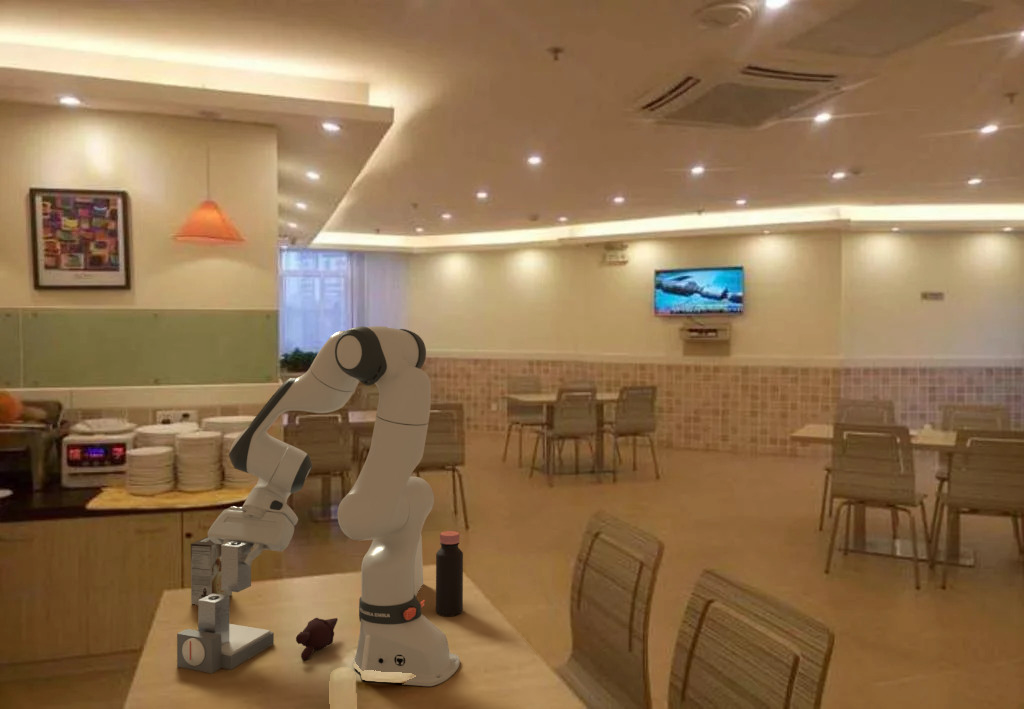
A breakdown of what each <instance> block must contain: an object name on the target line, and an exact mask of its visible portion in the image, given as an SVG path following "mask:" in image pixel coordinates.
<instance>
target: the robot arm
mask: <svg viewBox="0 0 1024 709" xmlns="http://www.w3.org/2000/svg"><path fill="white" fill-rule="evenodd" d="M420 336H421V335H419V334H417V333H416V332H413V331H411V330H408V329H405V328H399V329H398V328H393V327H388V326H383V325H381V326H379V325H377V326H375V325H374V326H364V325H363V326H355V327H351V328H349V329H347V330H339V331H336V332H334V333H333V334H332V335H331V336H330V337H329V338H328V340H326V342H325V343H324V344H323V346H322V347H321V348H320V350H319V351H318V353H317V355H316V356H315V357H314V359H313V361H312V363H311V364H310V367H309V368H308V369H307V371H305V373H304V374H302V375H301V376H298V377H290V378H288V379H287V380H285V381H284V382H283V383H282V384H281V386H280V387H279V388H278V389H277V390H276V391H275V392H274V393H273V394H272V396H271V397H270V398H269V400H267V402H266V403H265V405H263V407H262V408H261V410H260V411H259V412H258V414H256V415H255V417H254V418H253V419H252V422H250V424H249V425H248V426H247V427H246V428H244V430H243V431H242V432H241V433H239V434H238V436H237V437H235V439H234V441H233V442H232V444H231V446H230V449H229V452H228V457H229V460H230V463H231V464H232V466H233V468H234V469H236V470H239V471H240V472H244V473H247V474H250V475H253V476H254V477H257V478H258V480H257V483H256V485H255V486H253V488H252V489H251V490H250V491H249V494H248V495H247V497H246V499H245V501H244V503H243V505H242V506H234V505H233V506H230V507H228V508H226V509H224V510H222V511H221V513H220V514H219V515H218V516H217V518H216V519H215V520H214V521H213V523H212V524H211V525H210V528H209V529H208V530H207V537H209V539H210V540H211V541H212V542H213V543H215V544H222V545H223V544H226V543H229V542H231V541H242V542H250V543H251V552H250V553H249V554H248V555H244V556H243V559H242V560H241V562H242V563H243V565H249V566H250V565H251V566H252V563H253V561H254V559H256V558H257V557H258V556H260V555H261V554H262V553H263V551H264V550H267V551H275V552H283V551H284V550H286V549H287V548H288V546H289V545H290V543H291V540H292V538H293V535H294V533H295V526H296V525H297V524H298V522H299V518H298V516H297V515H296V513H295V512H294V510H293V509H292V508H291V507H290V506H289V505H288V504H287V503H288V498H290V496H291V494H295V493H297V492H299V491H301V490H302V489H303V488H304V484H305V481H306V479H307V477H308V476H309V475H310V473H311V472H312V469H313V463H312V460H311V457H310V455H309V454H308V453H307V452H305V451H304V450H302V449H300V448H298V447H296V446H294V445H291V444H289V443H287V442H284V441H282V440H280V439H278V438H276V437H274V436H272V435H270V434H269V433H268V431H269V429H270V428H271V426H273V424H274V423H275V422H276V421H277V419H278V418H279V417H280V415H281V414H283V413H286V412H290V411H292V412H293V411H296V412H297V411H299V412H300V411H301V412H308V413H315V414H327V413H328V414H329V413H333V412H336V411H338V410H340V409H342V408H343V407H345V406H346V404H347V403H348V402H349V400H350V399H351V397H352V396H353V394H354V392H355V390H356V389H357V388H358V385H359V383H362V384H363V385H364V386H365V387H366V386H367V387H368V386H372V385H375V386H376V388H377V389H378V390H377V391H378V402H377V409H376V415H375V420H374V425H373V429H372V430H373V432H372V435H371V436H372V437H371V440H370V441H371V442H370V443H371V444H370V447H369V451H368V453H367V456H366V460H364V461H365V462H364V464H363V467H362V468H361V471H360V472H359V474H358V476H357V478H356V480H355V483H354V484H353V486H352V488H351V489H350V490H349V492H348V493H347V494H346V495H345V496H344V497H343V498H342V499H341V500H340V502H339V505H338V508H337V522H338V525H339V527H340V530H341V531H342V532H343V534H344V535H345V536H346V537H348V538H350V539H351V540H354V541H371V540H372V542H371V545H370V547H369V548H368V549H367V550H368V551H367V552H366V553H365V555H364V557H363V558H362V562H361V568H360V570H361V572H360V573H361V575H360V576H361V584H360V585H361V586H360V587H361V590H360V592H361V595H360V597H359V602H358V604H359V605H358V610H359V611H358V619H359V622H360V626H359V636H358V643H357V647H356V648H357V649H356V652H355V656H354V660H355V662H356V664H357V665H358V666H359V668H360V669H361V670H362V671H364V670H374V671H375V670H376V671H381V672H402V673H412V674H414V675H416V677H414V678H412V679H409V680H407V682H406V683H404V684H403V685H407V686H418V687H419V686H421V687H433V686H434V687H435V686H436V685H440V684H442V683H443V682H445V681H447V680H448V679H449V678H451V677H452V676H453V675H455V673H456V672H457V671H458V669H459V667H460V663H461V662H460V657H459V655H458V654H455V653H452V652H450V647H449V641H448V637H447V635H446V633H444V632H443V631H442V630H441V629H440V628H439V627H438V626H436V625H435V624H434V623H433V622H431V620H430V619H428V618H427V617H426V616H425V615H424V614H422V608H423V607H424V606H425V601H426V600H425V599H423V600H421V601H420V602H419V600H418V599H417V595H416V596H415V594H414V564H415V556H416V550H417V546H418V542H419V538H420V535H421V536H422V530H423V527H424V524H425V522H426V519H427V517H428V516H429V514H430V512H431V511H432V510H433V508H434V504H435V495H434V492H433V488H432V486H431V485H430V484H429V482H427V481H426V480H425V479H424V478H422V477H419V476H413V475H412V474H413V472H414V470H415V469H416V467H417V466H418V465H419V464H420V463H421V461H422V459H423V456H424V452H425V451H424V450H425V445H426V440H427V434H428V428H429V424H430V423H429V422H430V415H431V404H432V382H431V378H430V377H429V375H428V373H426V372H425V371H424V370H423V369H422V367H424V365H425V361H426V359H427V349H426V344H425V342H424V340H423V339H422V338H421V337H420ZM220 560H221V557H220Z"/></svg>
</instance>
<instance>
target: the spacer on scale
mask: <svg viewBox="0 0 1024 709" xmlns="http://www.w3.org/2000/svg"><path fill="white" fill-rule="evenodd" d="M197 607H198V609H197V610H198V611H197V614H198V615H197V616H198V617H197V619H198V620H197V622H198V624H197V625H198V628H197V631H203V632H209V633H215V634H221V646H222V645H224V644H226V643H228V642H229V624H230V596H227V595H220V594H211V595H208V596H206V597H204V598H202V599H200V600H198V605H197Z"/></svg>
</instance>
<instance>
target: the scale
mask: <svg viewBox="0 0 1024 709" xmlns="http://www.w3.org/2000/svg"><path fill="white" fill-rule="evenodd" d="M274 635H275V634H274V631H273V632H272V631H271V630H269V629H264V628H258V627H250V626H247V625H240V624H232V623H229V642H228V643H226V644H224V645H222V646H221V634H215V633H209V632H203V631H198V629H197V630H196V629H190V628H186V629H184V630H182V631H179V632H178V633H177V634H176V662H177V663H176V667H177V668H183V669H188V670H193V671H199V672H202V671H203V672H204V673H208V674H213V673H215V672H217V671H218V670H220V669H225V670H233V669H235V668H237V667H238V666H239V665H241V664H243V663H244V662H247V660H249V659H251V658H252V657H254V656H256V655H258V654H259V653H261V652H263V651H264V650H266V649H267V648H269V647H271V646H273V645H274V643H275V642H274V641H275V640H274V637H275V636H274Z"/></svg>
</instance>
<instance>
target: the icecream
mask: <svg viewBox="0 0 1024 709" xmlns="http://www.w3.org/2000/svg"><path fill="white" fill-rule="evenodd" d="M338 621H339V620H338V618H337V617H335V618H334V617H333V618H327V619H323V618H318V617H314V618H313V619H311V620H310V621H308V623H307V625H306V627H304V629H303V630H302V631H300V632H299V633H298V634H297V636H296V637H295V641H296V643H297V644H298V645H302V646H303V647H305V648H303V650H302V651H301V656H300V658H301V660H302V661H307V660H308V659H310V658H311V656H312V655H313V653H314V651H321V650H323V649H326V647H328V646H330V645H332V644H333V642H334V637H335V632H334V630H335V627H336V625H337V623H338Z"/></svg>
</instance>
